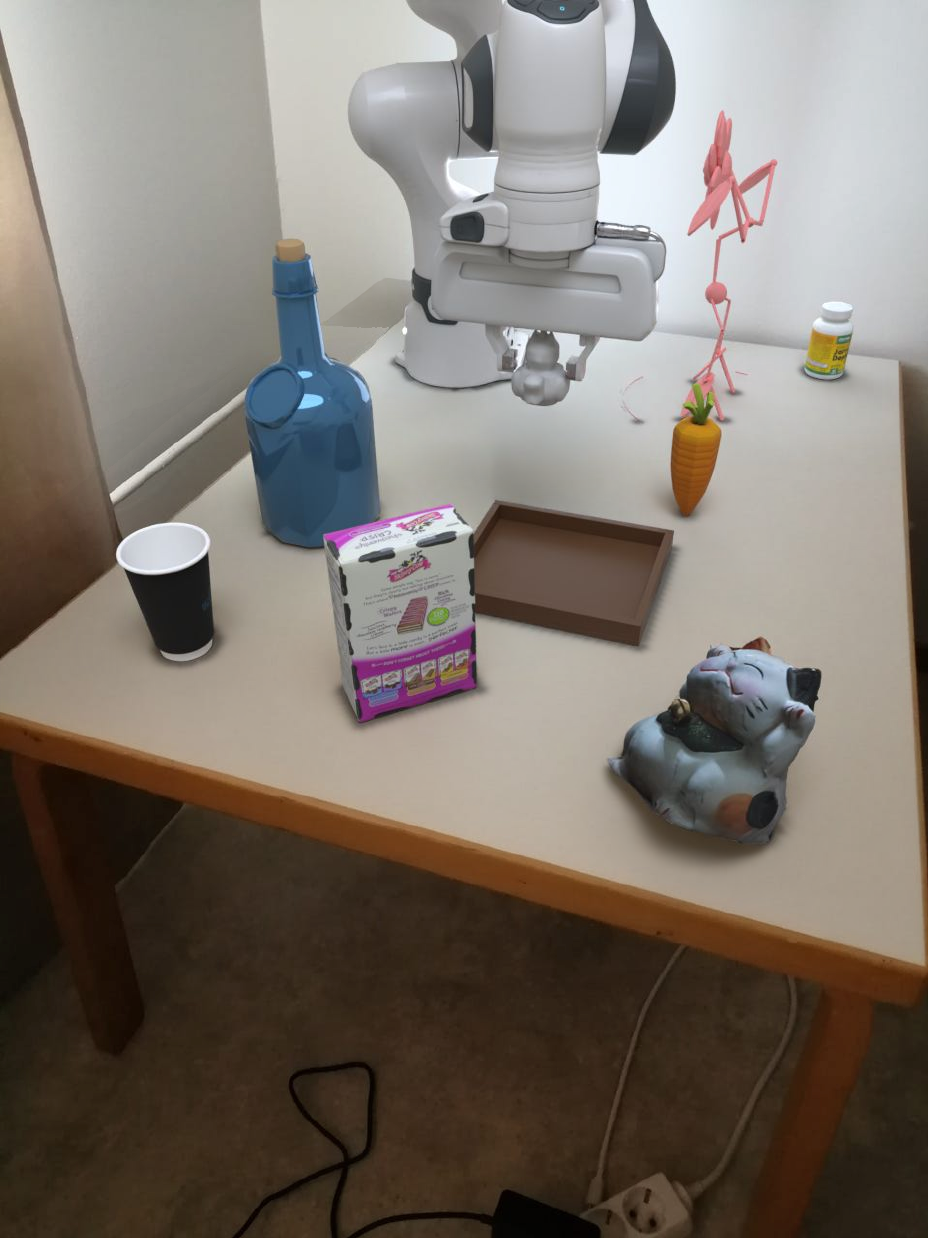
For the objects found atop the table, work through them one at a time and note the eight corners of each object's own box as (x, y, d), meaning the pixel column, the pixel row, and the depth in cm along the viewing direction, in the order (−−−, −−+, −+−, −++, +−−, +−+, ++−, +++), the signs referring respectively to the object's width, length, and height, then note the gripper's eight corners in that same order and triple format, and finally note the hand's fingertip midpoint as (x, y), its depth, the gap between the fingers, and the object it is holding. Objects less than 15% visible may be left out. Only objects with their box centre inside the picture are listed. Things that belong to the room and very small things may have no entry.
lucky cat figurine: (588, 742, 80) (656, 588, 76) (713, 776, 83) (784, 629, 79) (653, 844, 66) (740, 662, 62) (800, 879, 69) (891, 708, 65)
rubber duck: (575, 395, 94) (580, 313, 89) (558, 423, 89) (562, 338, 84) (521, 388, 95) (523, 307, 90) (501, 416, 90) (502, 331, 85)
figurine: (749, 370, 139) (798, 96, 118) (718, 449, 120) (770, 139, 99) (644, 355, 144) (672, 89, 123) (598, 429, 125) (622, 129, 103)
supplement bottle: (815, 362, 141) (830, 296, 135) (849, 372, 138) (866, 305, 132) (796, 372, 138) (809, 306, 132) (830, 383, 135) (846, 315, 129)
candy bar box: (456, 656, 89) (452, 500, 79) (478, 689, 85) (478, 529, 75) (339, 689, 85) (320, 530, 75) (357, 725, 82) (340, 563, 72)
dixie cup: (127, 644, 91) (98, 545, 84) (201, 608, 95) (180, 512, 88) (170, 684, 86) (144, 583, 80) (246, 645, 90) (227, 546, 84)
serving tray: (495, 518, 108) (495, 499, 106) (671, 549, 103) (674, 530, 101) (439, 605, 95) (439, 585, 94) (638, 646, 90) (640, 626, 88)
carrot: (707, 529, 106) (729, 400, 97) (661, 524, 106) (678, 396, 97) (708, 505, 110) (728, 380, 100) (663, 501, 110) (679, 376, 101)
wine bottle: (317, 478, 115) (286, 214, 97) (405, 511, 109) (390, 235, 91) (233, 529, 107) (182, 249, 88) (324, 568, 100) (289, 275, 82)
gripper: (675, 217, 81) (658, 374, 90) (447, 200, 87) (450, 349, 95) (661, 237, 77) (644, 401, 85) (421, 217, 82) (427, 373, 91)
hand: (540, 374), depth 90 cm, fingers closed on rubber duck, 5 cm apart
